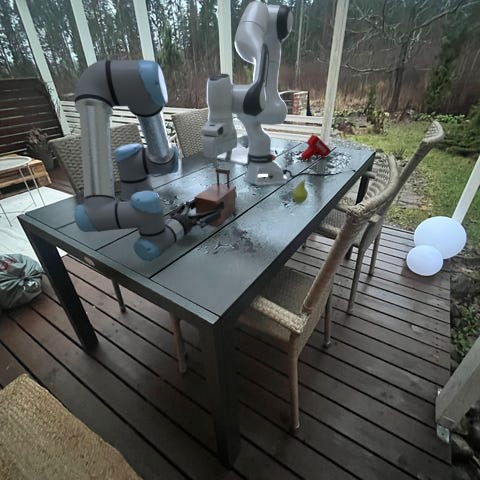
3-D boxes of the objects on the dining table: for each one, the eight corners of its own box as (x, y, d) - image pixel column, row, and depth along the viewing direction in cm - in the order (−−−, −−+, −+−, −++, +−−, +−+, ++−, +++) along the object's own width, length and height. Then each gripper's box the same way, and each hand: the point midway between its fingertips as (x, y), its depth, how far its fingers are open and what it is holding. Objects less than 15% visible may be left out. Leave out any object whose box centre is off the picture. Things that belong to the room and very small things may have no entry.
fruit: (288, 200, 123) (290, 174, 116) (302, 197, 125) (305, 172, 119) (296, 206, 118) (299, 179, 111) (310, 203, 120) (314, 177, 114)
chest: (216, 205, 119) (215, 185, 114) (235, 209, 115) (235, 189, 110) (196, 220, 108) (194, 199, 103) (217, 225, 104) (216, 203, 99)
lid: (216, 185, 115) (214, 165, 110) (236, 188, 111) (235, 169, 106) (194, 199, 103) (192, 178, 98) (216, 203, 99) (214, 182, 94)
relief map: (245, 164, 167) (245, 156, 164) (203, 155, 185) (203, 148, 182) (268, 154, 185) (268, 147, 183) (228, 147, 203) (228, 140, 200)
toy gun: (302, 156, 169) (316, 135, 166) (298, 155, 172) (312, 134, 169) (317, 170, 180) (331, 150, 177) (313, 169, 183) (326, 149, 180)
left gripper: (151, 230, 95) (189, 205, 111) (205, 246, 86) (237, 216, 103) (147, 211, 91) (187, 188, 107) (203, 225, 82) (237, 198, 99)
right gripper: (227, 121, 107) (227, 156, 115) (197, 130, 92) (201, 170, 99) (241, 122, 105) (241, 158, 112) (213, 131, 89) (215, 172, 97)
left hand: (211, 202), depth 105 cm, fingers closed on chest, 10 cm apart
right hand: (222, 164), depth 105 cm, fingers open, 8 cm apart
